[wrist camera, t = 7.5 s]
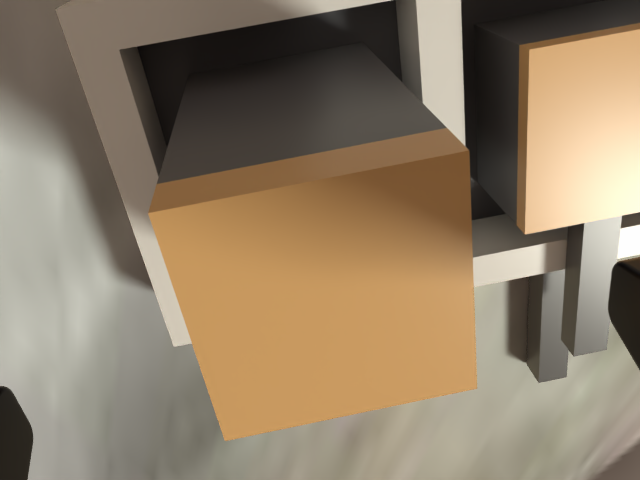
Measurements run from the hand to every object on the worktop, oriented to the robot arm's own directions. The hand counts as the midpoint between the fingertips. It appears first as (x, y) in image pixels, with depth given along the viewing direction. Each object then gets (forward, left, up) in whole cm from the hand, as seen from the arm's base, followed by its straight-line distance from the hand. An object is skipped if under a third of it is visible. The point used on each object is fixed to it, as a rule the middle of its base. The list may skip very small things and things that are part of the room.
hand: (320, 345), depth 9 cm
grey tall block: (0, 0, -9) cm, 9 cm away
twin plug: (-8, +4, -9) cm, 12 cm away
